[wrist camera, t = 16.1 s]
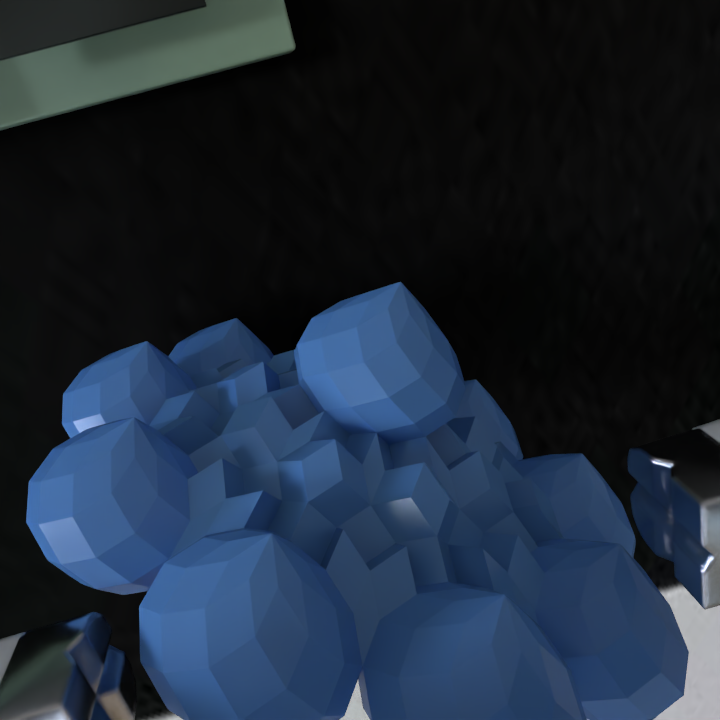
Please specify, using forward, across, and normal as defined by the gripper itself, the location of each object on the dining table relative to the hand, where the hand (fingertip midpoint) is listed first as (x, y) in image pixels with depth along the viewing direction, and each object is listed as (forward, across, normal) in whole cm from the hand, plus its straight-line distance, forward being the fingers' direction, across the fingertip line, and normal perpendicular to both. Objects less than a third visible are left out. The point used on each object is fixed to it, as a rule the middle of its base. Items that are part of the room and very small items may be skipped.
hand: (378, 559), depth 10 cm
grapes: (+9, 0, 0) cm, 9 cm away
